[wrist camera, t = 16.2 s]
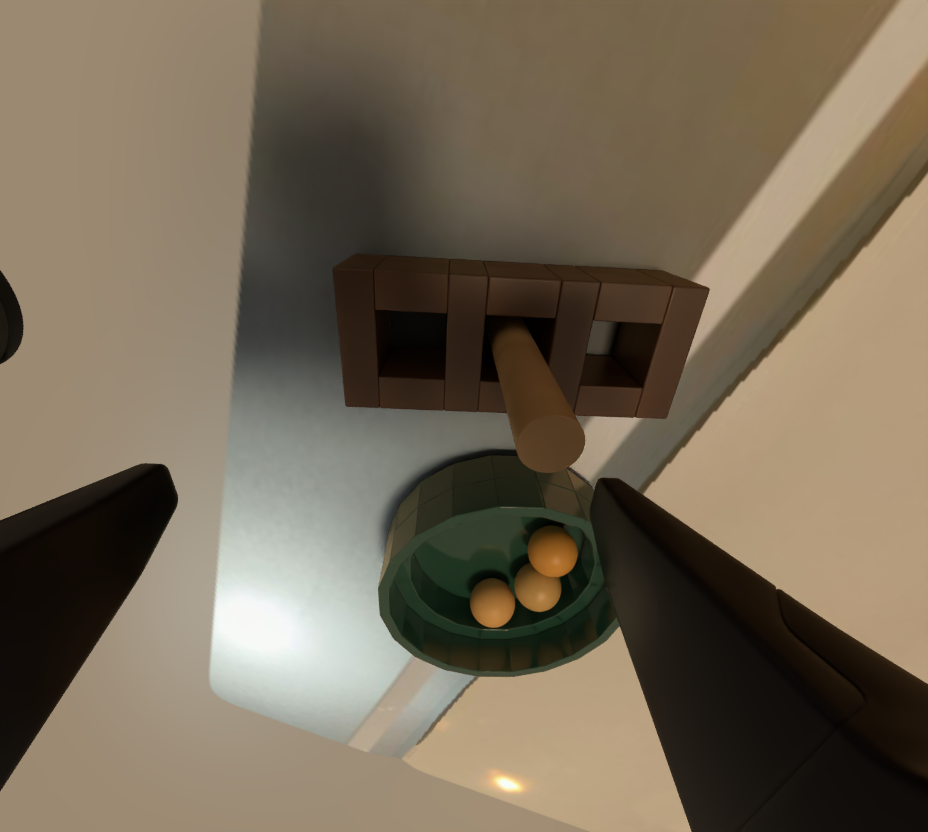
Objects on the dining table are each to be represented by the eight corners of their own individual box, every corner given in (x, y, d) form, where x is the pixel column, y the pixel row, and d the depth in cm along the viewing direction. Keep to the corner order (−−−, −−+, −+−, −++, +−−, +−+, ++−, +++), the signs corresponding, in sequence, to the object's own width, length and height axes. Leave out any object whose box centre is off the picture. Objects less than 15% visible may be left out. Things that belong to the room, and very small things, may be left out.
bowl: (393, 606, 30) (383, 676, 26) (387, 445, 23) (372, 503, 19) (582, 609, 31) (603, 678, 27) (628, 453, 24) (667, 511, 20)
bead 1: (470, 637, 27) (454, 591, 27) (499, 619, 29) (484, 576, 30) (502, 632, 25) (484, 582, 26) (530, 613, 27) (513, 568, 28)
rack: (363, 371, 21) (345, 407, 18) (355, 253, 18) (331, 267, 15) (633, 383, 22) (667, 419, 18) (664, 270, 19) (711, 288, 16)
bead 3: (547, 592, 24) (577, 601, 26) (531, 547, 26) (560, 558, 28) (512, 616, 25) (543, 623, 27) (499, 571, 27) (529, 580, 29)
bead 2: (517, 550, 24) (544, 595, 24) (563, 526, 23) (590, 572, 23) (518, 532, 27) (542, 572, 27) (559, 510, 26) (583, 551, 26)
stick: (499, 349, 21) (539, 484, 11) (479, 321, 20) (502, 440, 10) (529, 328, 20) (598, 450, 11) (509, 299, 20) (563, 402, 10)
